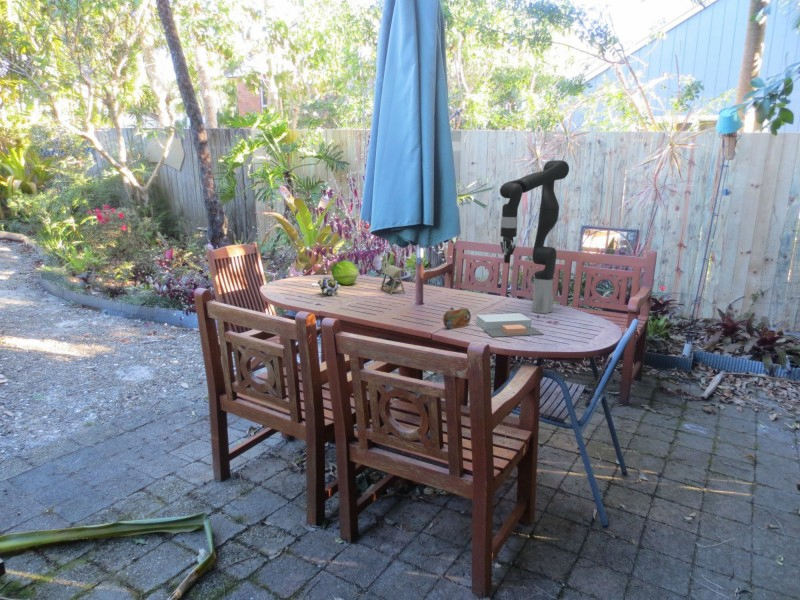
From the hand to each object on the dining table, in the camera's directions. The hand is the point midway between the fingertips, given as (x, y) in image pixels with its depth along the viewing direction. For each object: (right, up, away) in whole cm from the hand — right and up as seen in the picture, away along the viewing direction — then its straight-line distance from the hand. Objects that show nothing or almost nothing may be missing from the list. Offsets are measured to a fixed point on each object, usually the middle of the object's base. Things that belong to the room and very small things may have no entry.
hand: (506, 262), depth 257 cm
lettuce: (-85, -8, +79) cm, 116 cm away
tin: (-25, -30, -11) cm, 41 cm away
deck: (-3, -30, -8) cm, 31 cm away
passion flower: (-92, -15, +50) cm, 105 cm away
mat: (-1, -32, -19) cm, 38 cm away
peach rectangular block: (-1, -29, -20) cm, 36 cm away
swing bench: (-55, -13, +59) cm, 82 cm away
